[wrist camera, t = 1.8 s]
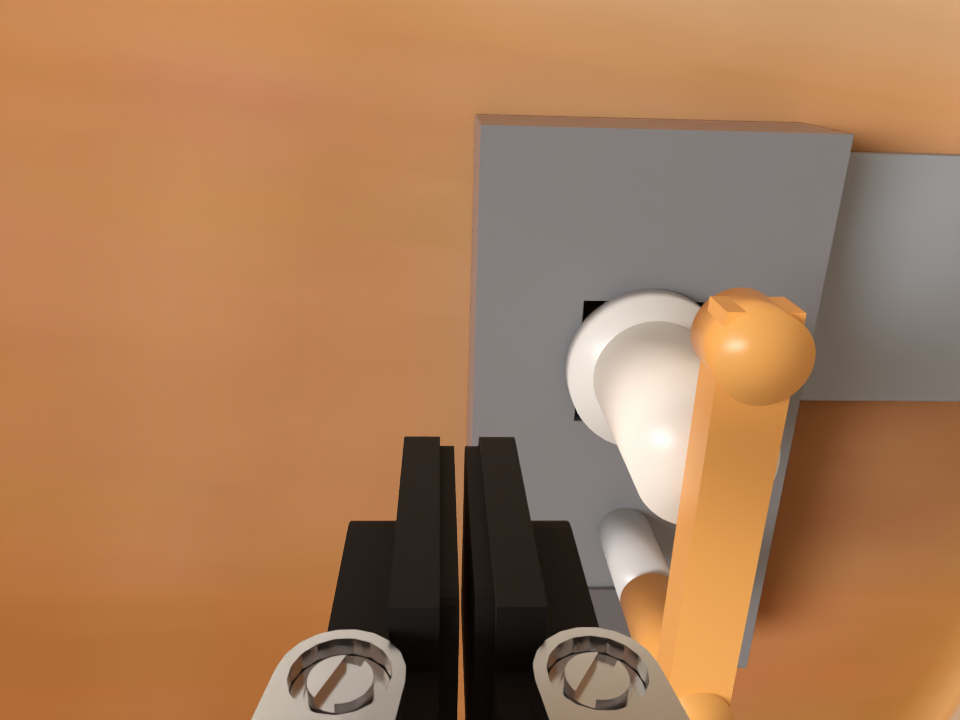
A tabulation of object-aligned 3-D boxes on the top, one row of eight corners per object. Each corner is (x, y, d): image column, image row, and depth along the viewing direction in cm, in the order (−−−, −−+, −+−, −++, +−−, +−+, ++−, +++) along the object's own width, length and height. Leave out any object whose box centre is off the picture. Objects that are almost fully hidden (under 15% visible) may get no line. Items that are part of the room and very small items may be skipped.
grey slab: (475, 114, 28) (487, 138, 21) (800, 122, 29) (919, 148, 22) (462, 607, 36) (468, 745, 29) (715, 605, 37) (781, 739, 30)
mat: (821, 150, 29) (829, 153, 29) (1077, 157, 30) (1089, 159, 29) (776, 394, 33) (781, 400, 32) (1003, 395, 33) (1013, 401, 33)
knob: (554, 256, 30) (614, 368, 20) (696, 258, 30) (828, 369, 20) (545, 388, 32) (595, 551, 22) (678, 389, 33) (789, 550, 22)
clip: (657, 249, 22) (725, 313, 17) (734, 251, 22) (824, 314, 17) (614, 621, 27) (656, 758, 22) (677, 620, 27) (733, 757, 22)
